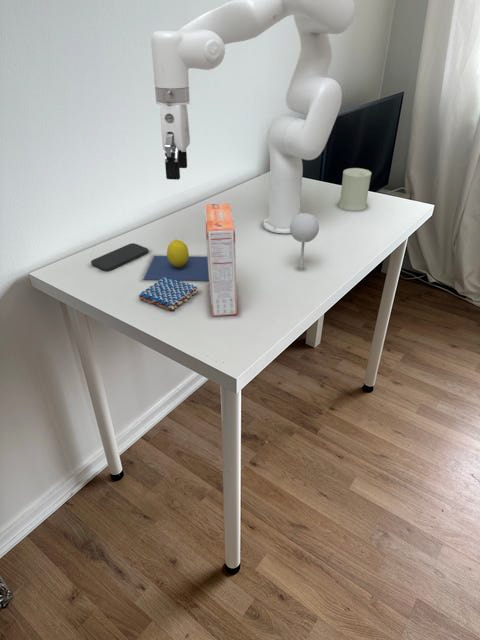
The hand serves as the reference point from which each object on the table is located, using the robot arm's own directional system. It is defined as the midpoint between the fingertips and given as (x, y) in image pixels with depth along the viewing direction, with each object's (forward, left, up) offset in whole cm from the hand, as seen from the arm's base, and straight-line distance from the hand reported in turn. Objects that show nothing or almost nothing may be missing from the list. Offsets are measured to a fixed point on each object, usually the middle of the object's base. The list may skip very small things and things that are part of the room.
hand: (177, 173), depth 111 cm
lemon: (0, +6, -23) cm, 24 cm away
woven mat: (0, +20, -23) cm, 31 cm away
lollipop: (-32, +5, -23) cm, 40 cm away
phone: (+17, +1, -23) cm, 29 cm away
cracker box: (-12, +21, -23) cm, 34 cm away
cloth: (-1, +6, -23) cm, 24 cm away
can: (-52, -41, -23) cm, 70 cm away
